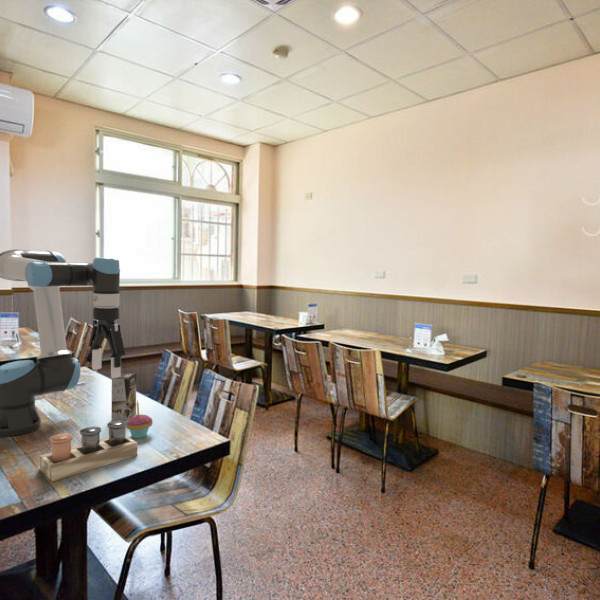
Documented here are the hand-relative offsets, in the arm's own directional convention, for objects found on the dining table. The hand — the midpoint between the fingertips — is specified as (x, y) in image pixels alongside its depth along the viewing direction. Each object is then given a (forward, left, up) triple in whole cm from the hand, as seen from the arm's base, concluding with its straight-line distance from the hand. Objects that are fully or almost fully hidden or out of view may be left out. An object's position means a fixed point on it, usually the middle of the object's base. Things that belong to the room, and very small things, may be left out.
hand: (106, 373), depth 136 cm
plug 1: (+7, -8, -21) cm, 24 cm away
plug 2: (+7, 0, -21) cm, 22 cm away
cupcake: (-2, +12, -25) cm, 27 cm away
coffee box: (-24, +17, -25) cm, 38 cm away
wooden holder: (+7, -8, -24) cm, 27 cm away
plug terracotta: (+7, -16, -21) cm, 27 cm away
